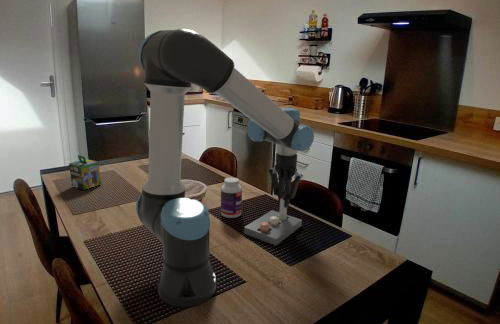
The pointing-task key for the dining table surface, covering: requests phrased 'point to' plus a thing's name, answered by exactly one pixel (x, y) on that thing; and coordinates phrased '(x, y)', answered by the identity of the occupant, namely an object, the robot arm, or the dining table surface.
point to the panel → (273, 228)
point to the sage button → (282, 217)
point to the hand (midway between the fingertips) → (282, 214)
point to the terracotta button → (264, 227)
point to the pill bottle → (231, 198)
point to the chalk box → (85, 173)
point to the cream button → (274, 221)
